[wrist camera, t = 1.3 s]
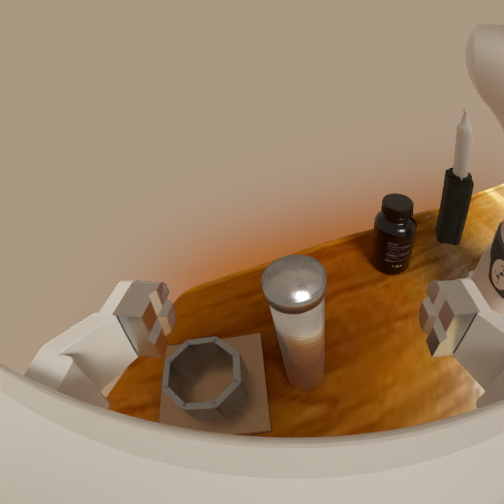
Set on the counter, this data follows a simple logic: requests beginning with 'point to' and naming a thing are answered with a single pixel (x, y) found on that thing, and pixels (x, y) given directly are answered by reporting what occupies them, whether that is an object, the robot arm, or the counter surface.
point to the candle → (456, 188)
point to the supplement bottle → (394, 234)
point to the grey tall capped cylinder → (298, 316)
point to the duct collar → (216, 386)
